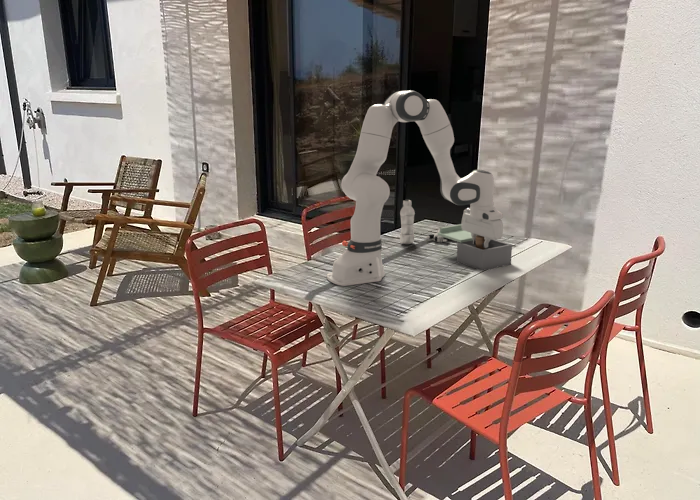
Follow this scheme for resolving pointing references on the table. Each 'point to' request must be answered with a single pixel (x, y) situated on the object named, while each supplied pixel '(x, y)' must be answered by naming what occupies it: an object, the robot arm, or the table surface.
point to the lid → (455, 233)
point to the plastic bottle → (407, 223)
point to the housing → (484, 254)
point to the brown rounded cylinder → (480, 242)
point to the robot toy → (437, 237)
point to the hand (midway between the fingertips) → (480, 245)
